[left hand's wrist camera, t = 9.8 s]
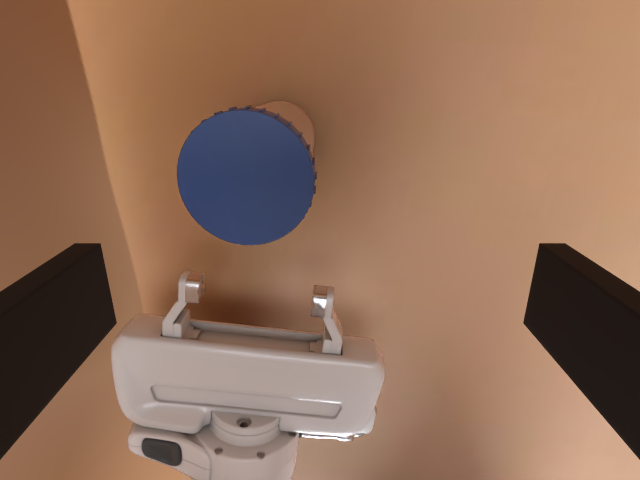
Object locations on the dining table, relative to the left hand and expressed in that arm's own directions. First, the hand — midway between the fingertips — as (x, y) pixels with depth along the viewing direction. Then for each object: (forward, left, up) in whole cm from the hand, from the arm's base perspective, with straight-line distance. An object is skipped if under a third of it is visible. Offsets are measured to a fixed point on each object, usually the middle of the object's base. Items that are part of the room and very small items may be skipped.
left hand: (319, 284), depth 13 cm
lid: (-1, -3, -6) cm, 7 cm away
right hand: (+8, -2, -15) cm, 18 cm away
